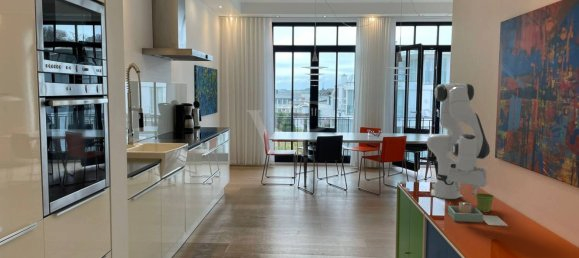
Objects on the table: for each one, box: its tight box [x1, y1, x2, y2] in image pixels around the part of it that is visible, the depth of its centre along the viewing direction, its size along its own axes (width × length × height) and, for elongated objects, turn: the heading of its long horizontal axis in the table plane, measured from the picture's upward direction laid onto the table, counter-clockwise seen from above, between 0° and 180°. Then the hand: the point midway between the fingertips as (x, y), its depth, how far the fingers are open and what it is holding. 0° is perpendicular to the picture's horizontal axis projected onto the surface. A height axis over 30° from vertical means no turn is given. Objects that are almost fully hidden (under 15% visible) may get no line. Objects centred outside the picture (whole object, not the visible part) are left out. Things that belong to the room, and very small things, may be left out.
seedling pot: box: [458, 201, 473, 214], centre depth 219 cm, size 6×6×8 cm
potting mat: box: [483, 214, 509, 227], centre depth 215 cm, size 16×9×1 cm, turn 171°
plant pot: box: [475, 192, 495, 213], centre depth 232 cm, size 9×9×9 cm
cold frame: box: [447, 205, 484, 223], centre depth 220 cm, size 14×14×4 cm
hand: (466, 192), depth 218 cm, fingers open, 8 cm apart
